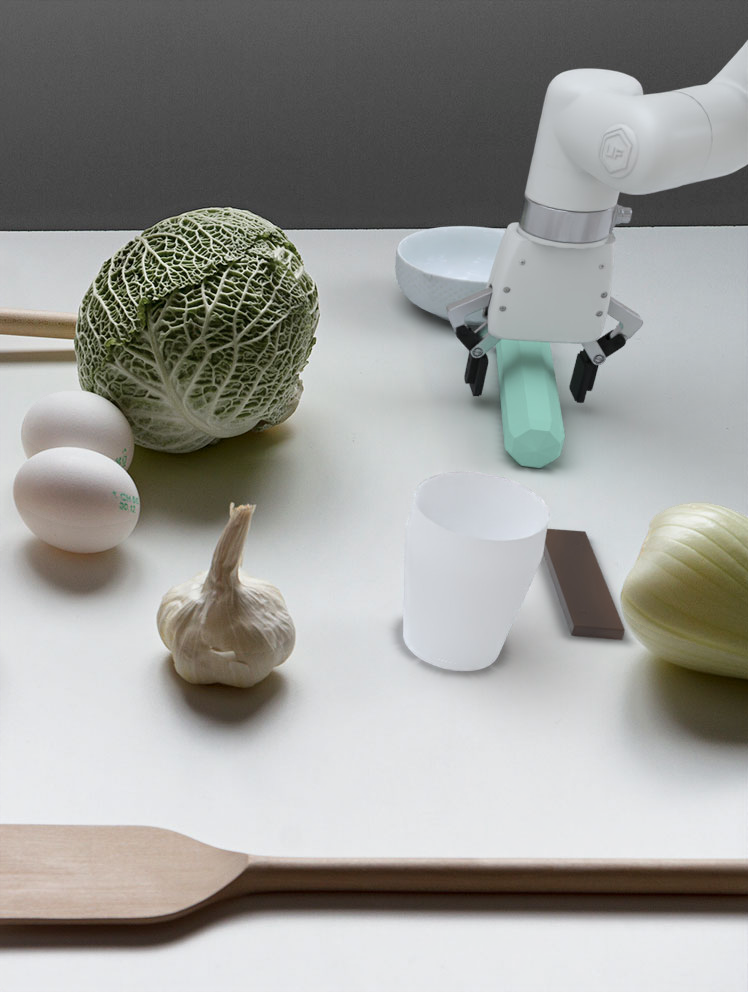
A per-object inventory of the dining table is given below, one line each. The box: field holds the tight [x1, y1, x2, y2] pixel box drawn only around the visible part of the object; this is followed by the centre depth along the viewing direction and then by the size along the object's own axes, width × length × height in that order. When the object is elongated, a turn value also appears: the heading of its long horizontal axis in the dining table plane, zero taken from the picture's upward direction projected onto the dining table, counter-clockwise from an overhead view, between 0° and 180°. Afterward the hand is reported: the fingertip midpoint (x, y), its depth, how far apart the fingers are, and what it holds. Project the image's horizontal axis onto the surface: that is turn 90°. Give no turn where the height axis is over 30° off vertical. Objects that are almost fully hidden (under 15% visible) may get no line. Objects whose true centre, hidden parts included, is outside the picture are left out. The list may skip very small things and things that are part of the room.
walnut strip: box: [543, 528, 626, 641], centre depth 99 cm, size 4×13×1 cm, turn 171°
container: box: [494, 339, 566, 469], centre depth 122 cm, size 6×6×25 cm
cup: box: [402, 471, 550, 672], centre depth 90 cm, size 9×9×12 cm
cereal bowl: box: [394, 225, 506, 326], centre depth 141 cm, size 17×17×7 cm
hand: (525, 392), depth 123 cm, fingers open, 8 cm apart
